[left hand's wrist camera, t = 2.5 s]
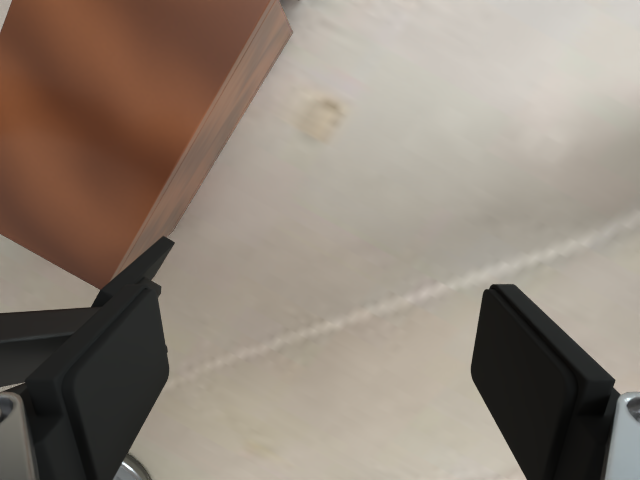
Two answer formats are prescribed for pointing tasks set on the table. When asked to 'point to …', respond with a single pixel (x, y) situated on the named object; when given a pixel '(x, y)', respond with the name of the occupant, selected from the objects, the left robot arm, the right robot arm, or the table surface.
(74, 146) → the wooden storage bin
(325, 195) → the table surface
